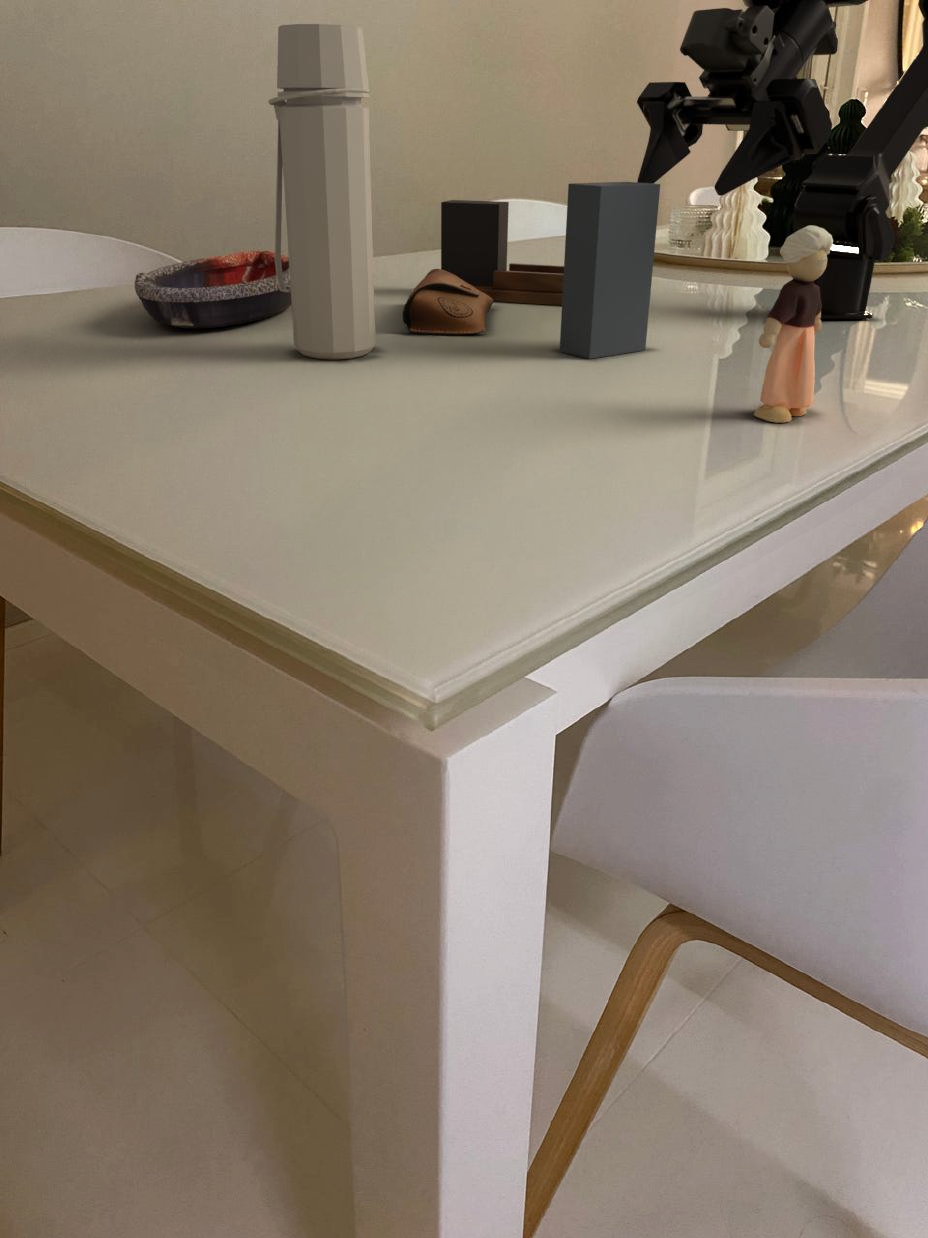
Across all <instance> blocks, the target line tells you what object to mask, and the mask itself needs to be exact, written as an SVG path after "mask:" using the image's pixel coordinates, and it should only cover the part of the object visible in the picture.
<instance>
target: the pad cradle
mask: <svg viewBox="0 0 928 1238" xmlns="http://www.w3.org/2000/svg"><path fill="white" fill-rule="evenodd" d="M509 205H510V204H509V201H493V200H492V201H491V200H470V199H469V200H467V199H466V200H465V199H450V200H444V201H441V202H440V269H441V270H445V271H447V272H449V273H452V274H454V275H456V276H457V277H459V278H460V279H462V280H463V281H465V282H466V283H468V284H470V285H472V286H473V287H475V288H476V289H477V290H479V291H481V292H483V293H485V294H486V295H488V296H489V297H490V298H492V299H493V302H499V303H514V304H527V305H530V304H531V305H543V306H544V305H546V306H558V307H559V306H561V307H562V296H563V277H564V265H555V264H554V265H552V264H551V265H550V264H533V263H517V262H516V263H515V262H511V263H509V264H508V240H509V239H508V238H509V237H508V236H509ZM507 267H508V268H507Z"/></svg>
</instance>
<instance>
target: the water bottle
mask: <svg viewBox="0 0 928 1238" xmlns="http://www.w3.org/2000/svg"><path fill="white" fill-rule="evenodd" d="M367 67H368V66H367V56H366V49H365V38H364V31H363V28H362V27H359V26H355V25H346V24H345V25H344V24H328V23H294V24H293V23H291V24H282V25H279V26H277V68H276V69H277V72H276V77H277V78H276V89H280V90H283V91H277V96H275V97H273V98H270V99H268V101H267V102H268V104H269V105H270V106H273V109H274V114H275V119H276V120H277V147H276V149H277V151H276V187H275V188H276V191H275V194H276V195H275V199H276V200H275V227H274V228H275V229H274V230H275V231H274V253H275V266H276V274H277V280H278V284H279V288H280V291H282V292H291V302H292V305H291V315H292V317H291V318H292V333H293V345H294V347H295V348H296V349H297V351H298V352H299V353H301V354H302V355H303V356H305V357H307V358H312V359H317V360H330V361H331V360H333V361H334V360H335V361H336V360H352V359H355V358H361V357H364V356H365V355H368V353H370V352H371V351H372V350H373V349H374V347H375V346H376V324H375V323H376V319H375V318H376V317H375V316H376V315H375V314H376V313H375V284H374V283H375V282H374V280H375V279H374V245H373V244H374V243H373V208H372V207H373V206H372V172H371V170H372V169H371V136H370V131H371V130H370V108H369V107H367V106H364V105H363V104H362V99H369V98H370V93H371V92H370V83H369V75H368V68H367ZM283 188H284V189H283ZM283 190H284V203H285V204H284V205H285V220H286V222H285V223H286V235H287V238H286V239H287V253H288V257H289V270H290V287H289V289H286V286H285V283H284V279H283V273H282V265H281V254H282V222H283V221H282V219H283V217H282V215H283V213H282V212H283V211H282V210H283Z"/></svg>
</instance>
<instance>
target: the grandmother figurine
mask: <svg viewBox="0 0 928 1238" xmlns="http://www.w3.org/2000/svg"><path fill="white" fill-rule="evenodd" d="M833 245H834V242H833V239H832V236H831V235H830V234H829V233H828V232H827V231H826V230H825V229H823V228H820V227H817V226H807V227H804V228H803V229H800V230H798V231H797V232H794V233H792V234H790V235H788V236H787V237H786V238H785V241H784V243H783V245H782V246H781V247H780V250H779V254H780V255H781V257H782V258H783V260H784V262H785V263H786V268H787V272H788V274H789V276H790V277H791V278H792V279H790V280H789V281H788V282H786V283H784V284H783V286H782V287H781V289H780V292H779V294H778V297H777V299H776V300H775V301H774V304H773V306H772V308H771V309H770V311H769V313H768V315H767V318H766V319H767V320H766V322H765V324H764V326H763V333H761V334H760V336H759V338H758V344H759V346H760V347H761V348H763V349H770V348H771V347H773V349H772V352H771V354H770V356H769V359H768V361H767V364H766V368H765V373H764V379H763V383H762V388H761V392H760V399H759V402H760V403H762V405H761V406H759V407H757V408H756V410H755V411H754V413H753V416H754V417H756V418H758V419H761V420H764V421H767V422H771V423H778V424H779V423H781V424H782V423H789V422H791V421H792V419H793V418H792V417H801V416H805V415H807V408H810V407H812V406H813V405H814V395H815V375H816V374H815V373H816V372H815V371H816V369H815V367H816V366H815V365H816V364H815V333H816V332H819V331H820V330H821V329H822V325H823V322H822V319H820V317H821V308H822V305H821V298H820V287H819V286H818V285H815V284H814V282H813V281H814V280H816V279H817V278H819V277H820V276H821V275H822V274H823V272H824V271H825V269H826V266H827V254H829V253H830V250H831V249H832V247H833ZM775 342H776V343H775ZM774 344H775V345H774Z"/></svg>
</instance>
